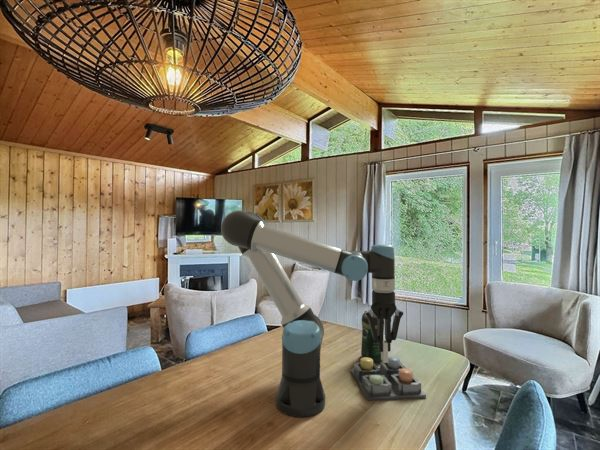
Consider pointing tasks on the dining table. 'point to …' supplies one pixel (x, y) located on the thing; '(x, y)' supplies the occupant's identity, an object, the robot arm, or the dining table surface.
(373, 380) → the sage button
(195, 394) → the dining table surface
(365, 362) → the mustard button
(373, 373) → the button panel
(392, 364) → the slate button
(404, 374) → the terracotta button
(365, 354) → the coffee jar
